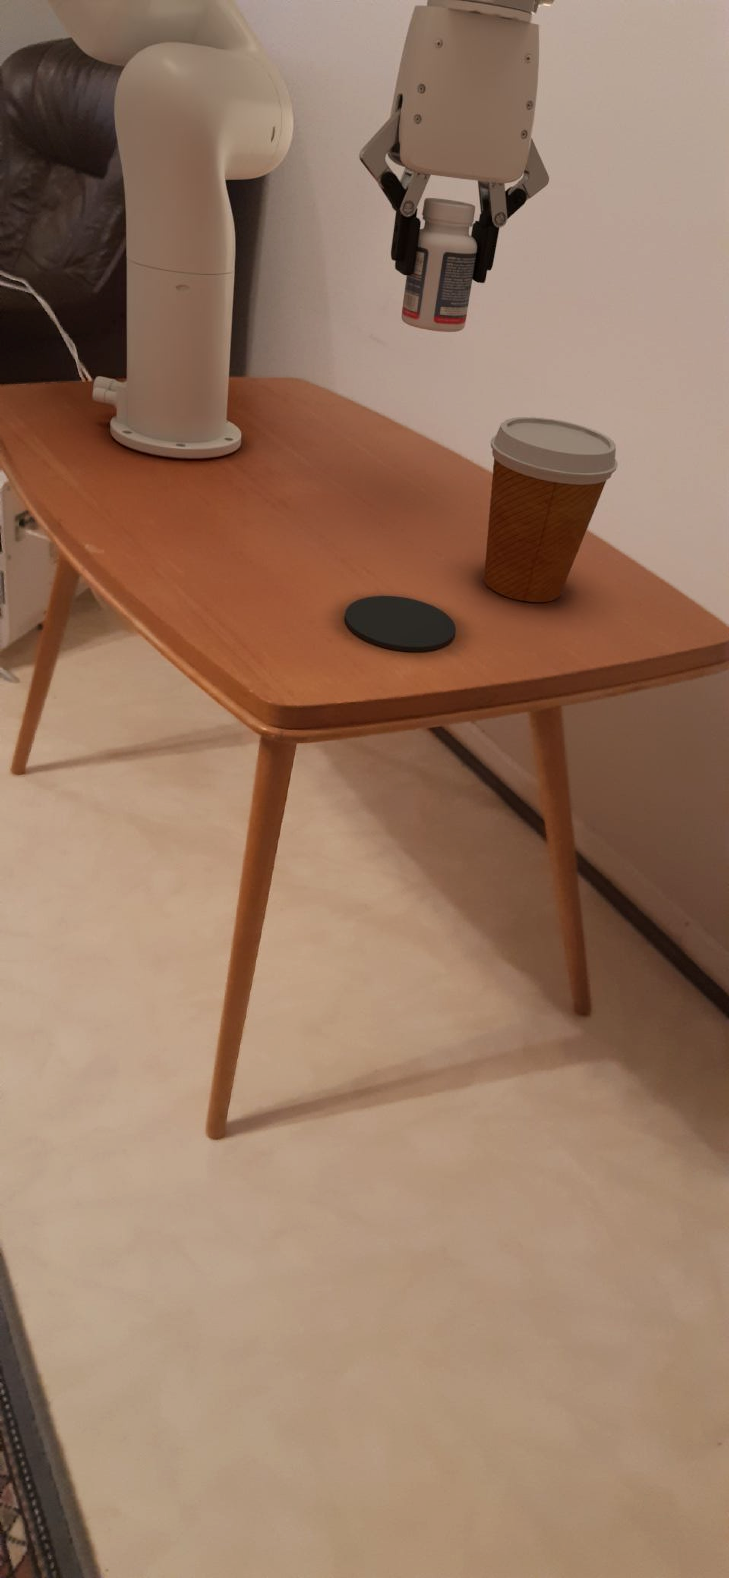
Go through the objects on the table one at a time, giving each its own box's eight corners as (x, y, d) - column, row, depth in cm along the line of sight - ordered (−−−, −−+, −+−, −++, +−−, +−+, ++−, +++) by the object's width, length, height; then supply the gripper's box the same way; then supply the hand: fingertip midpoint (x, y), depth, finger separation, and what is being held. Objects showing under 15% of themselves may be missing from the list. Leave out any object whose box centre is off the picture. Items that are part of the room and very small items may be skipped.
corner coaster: (328, 633, 71) (329, 627, 71) (364, 591, 77) (364, 586, 77) (439, 662, 69) (440, 657, 69) (465, 617, 76) (467, 613, 76)
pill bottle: (470, 326, 86) (491, 206, 80) (456, 336, 81) (477, 210, 76) (409, 315, 86) (426, 194, 81) (392, 324, 82) (409, 198, 77)
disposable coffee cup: (493, 551, 87) (524, 407, 81) (597, 587, 84) (639, 440, 77) (443, 584, 80) (472, 429, 74) (554, 624, 77) (596, 466, 70)
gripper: (573, 11, 77) (521, 277, 87) (352, -29, 72) (325, 257, 82) (616, 10, 71) (555, 295, 81) (378, -33, 66) (346, 275, 77)
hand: (439, 273), depth 82 cm, fingers closed on pill bottle, 5 cm apart
